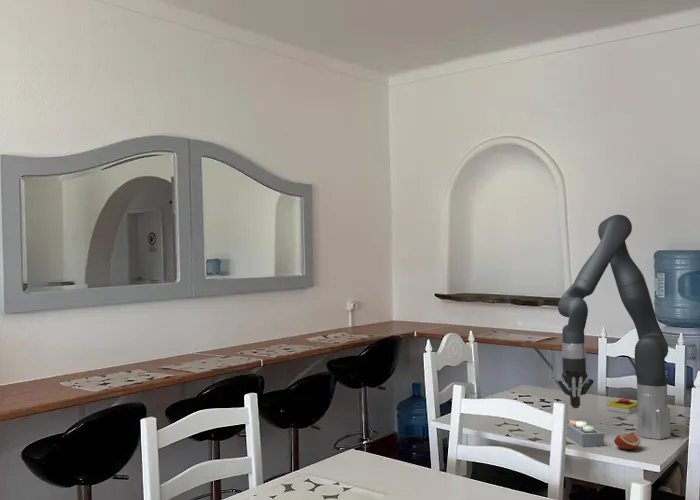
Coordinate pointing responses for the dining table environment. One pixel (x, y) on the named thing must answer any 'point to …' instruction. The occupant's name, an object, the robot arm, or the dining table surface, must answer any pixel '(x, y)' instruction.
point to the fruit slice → (627, 440)
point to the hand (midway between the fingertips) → (575, 407)
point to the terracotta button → (573, 421)
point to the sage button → (588, 429)
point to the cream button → (580, 424)
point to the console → (585, 436)
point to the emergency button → (622, 407)
